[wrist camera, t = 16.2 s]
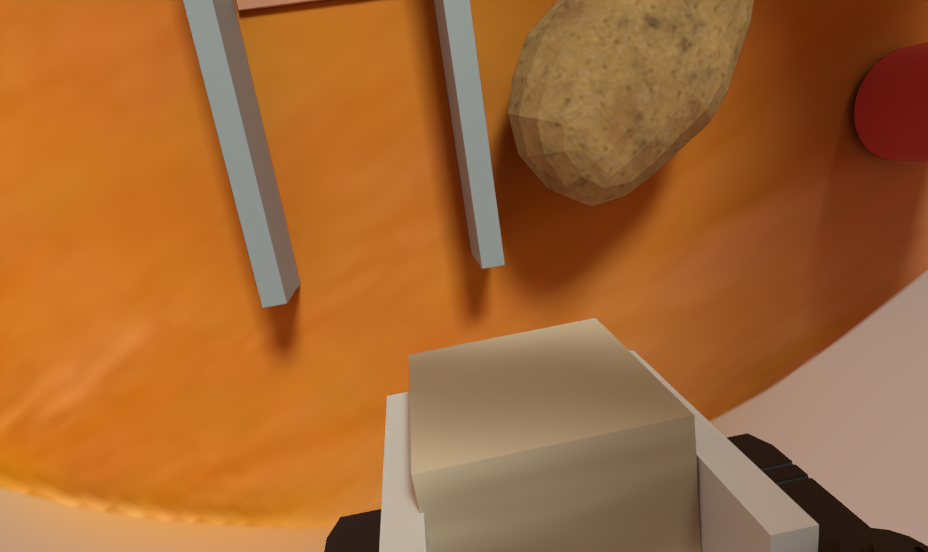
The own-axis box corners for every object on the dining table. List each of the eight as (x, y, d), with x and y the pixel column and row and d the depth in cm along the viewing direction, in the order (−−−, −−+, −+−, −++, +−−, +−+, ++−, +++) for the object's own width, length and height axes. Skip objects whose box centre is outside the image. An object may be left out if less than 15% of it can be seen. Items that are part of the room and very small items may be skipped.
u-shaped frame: (173, -142, 25) (132, -194, 21) (433, -169, 26) (439, -223, 22) (279, 287, 30) (262, 307, 27) (491, 250, 32) (504, 264, 28)
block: (411, 474, 9) (476, 762, 11) (694, 414, 9) (708, 705, 11) (408, 354, 14) (454, 569, 16) (595, 317, 14) (617, 533, 16)
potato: (734, 23, 30) (851, -19, 23) (587, 228, 32) (649, 254, 24) (605, -96, 28) (685, -188, 20) (454, 132, 30) (475, 127, 22)
